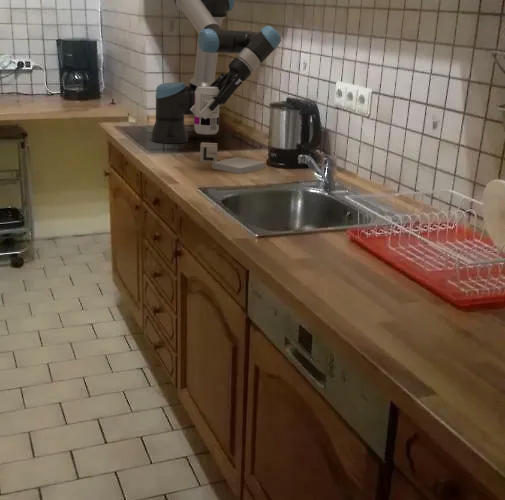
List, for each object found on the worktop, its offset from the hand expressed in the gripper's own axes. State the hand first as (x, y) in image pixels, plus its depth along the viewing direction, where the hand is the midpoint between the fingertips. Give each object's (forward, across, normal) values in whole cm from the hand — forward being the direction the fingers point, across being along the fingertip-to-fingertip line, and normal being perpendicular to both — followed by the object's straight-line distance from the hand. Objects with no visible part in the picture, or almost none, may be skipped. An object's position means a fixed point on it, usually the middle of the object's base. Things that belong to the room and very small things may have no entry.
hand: (197, 114), depth 225 cm
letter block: (+6, +13, -20) cm, 25 cm away
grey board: (+2, -1, -24) cm, 24 cm away
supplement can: (+2, 0, -7) cm, 7 cm away
